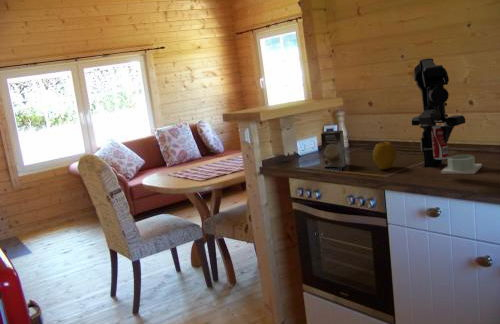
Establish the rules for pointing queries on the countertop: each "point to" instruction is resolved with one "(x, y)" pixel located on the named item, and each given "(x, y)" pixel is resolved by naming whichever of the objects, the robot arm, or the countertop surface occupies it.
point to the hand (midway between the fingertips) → (439, 143)
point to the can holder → (461, 165)
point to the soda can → (439, 143)
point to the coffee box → (333, 148)
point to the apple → (384, 155)
